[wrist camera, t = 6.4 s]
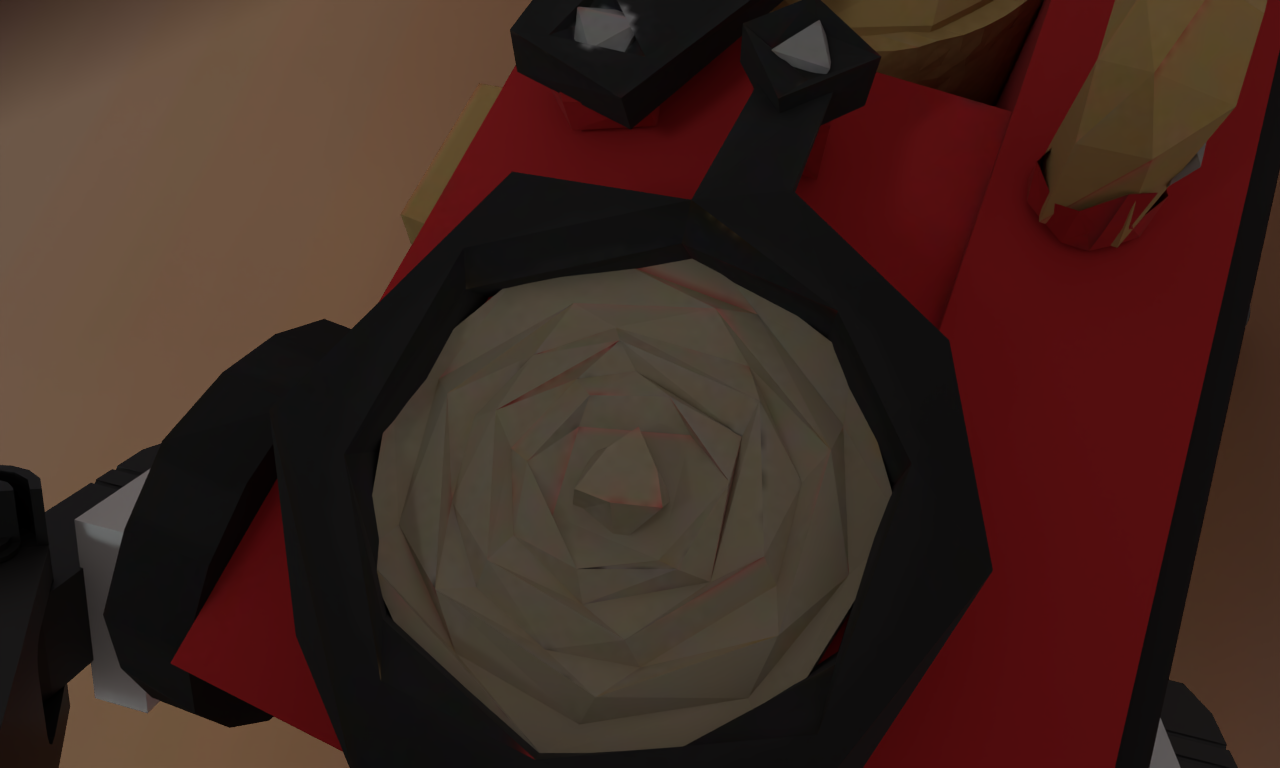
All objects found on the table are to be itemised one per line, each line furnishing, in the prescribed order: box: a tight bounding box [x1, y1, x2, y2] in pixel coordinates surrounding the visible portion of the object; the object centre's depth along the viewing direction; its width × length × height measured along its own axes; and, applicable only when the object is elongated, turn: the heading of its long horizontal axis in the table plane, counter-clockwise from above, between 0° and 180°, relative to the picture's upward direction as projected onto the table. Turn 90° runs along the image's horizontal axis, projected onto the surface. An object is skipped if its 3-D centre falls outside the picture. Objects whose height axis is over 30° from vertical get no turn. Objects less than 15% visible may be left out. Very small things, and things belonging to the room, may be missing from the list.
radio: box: [103, 0, 1280, 768], centre depth 17 cm, size 16×10×20 cm, turn 157°
